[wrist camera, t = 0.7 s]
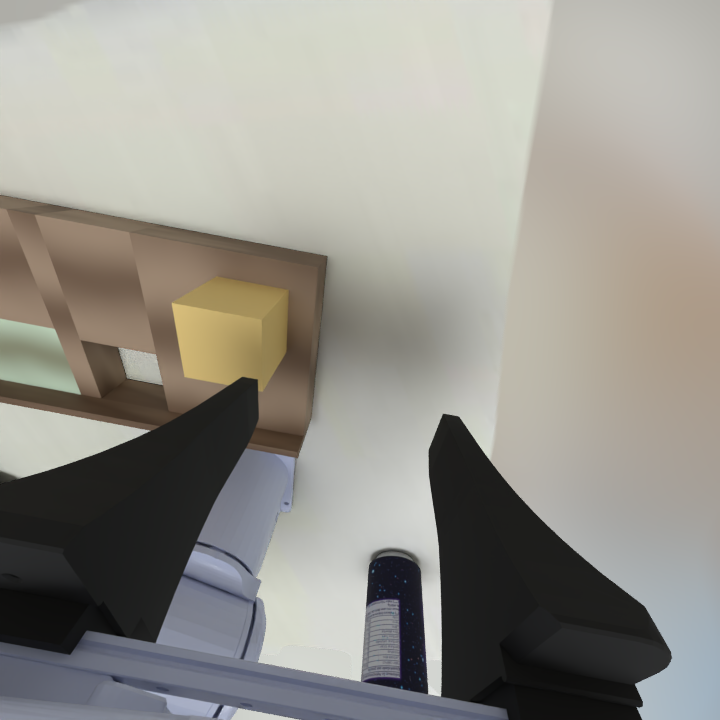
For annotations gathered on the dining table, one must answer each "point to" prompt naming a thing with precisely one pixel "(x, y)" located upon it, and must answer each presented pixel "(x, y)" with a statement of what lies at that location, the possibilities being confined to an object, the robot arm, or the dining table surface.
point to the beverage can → (394, 625)
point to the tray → (138, 317)
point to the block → (232, 331)
